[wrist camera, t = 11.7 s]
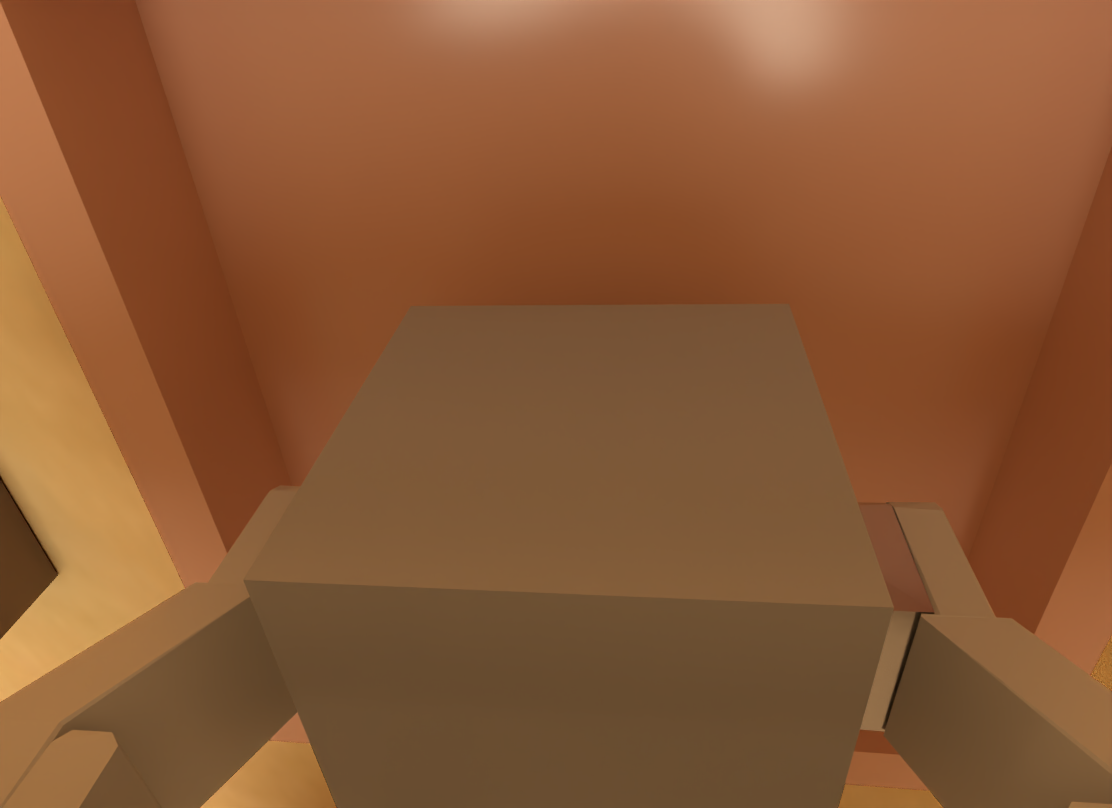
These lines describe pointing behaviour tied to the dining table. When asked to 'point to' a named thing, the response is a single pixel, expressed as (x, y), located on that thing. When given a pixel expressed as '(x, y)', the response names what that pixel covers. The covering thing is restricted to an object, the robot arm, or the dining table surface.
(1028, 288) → the salmon square tray
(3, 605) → the tray
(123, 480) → the dining table surface
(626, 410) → the grey cube
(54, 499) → the dining table surface
